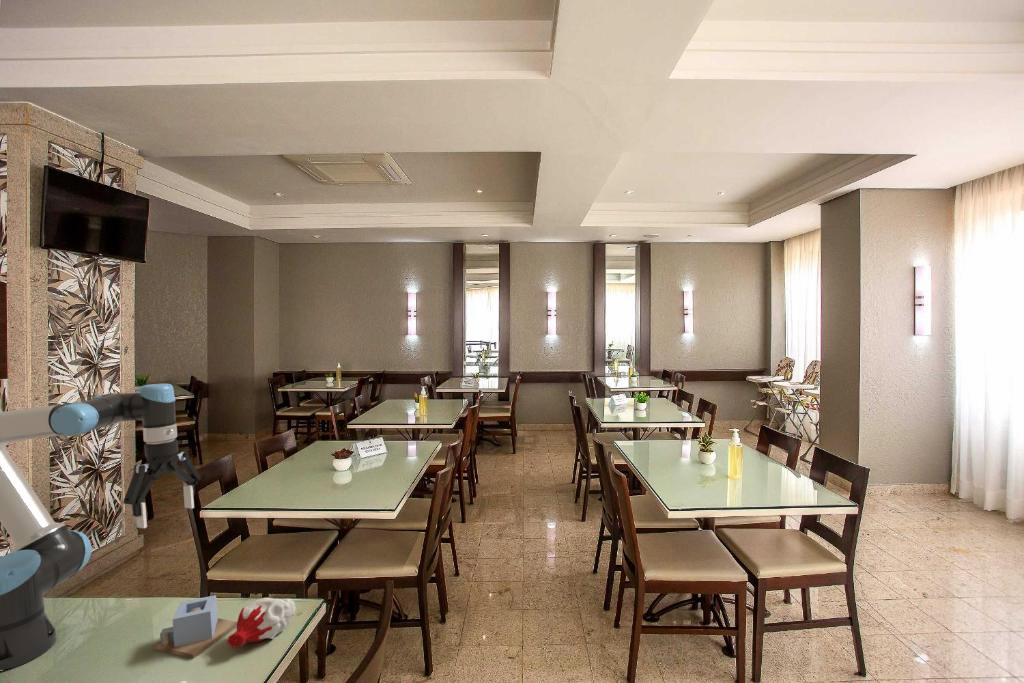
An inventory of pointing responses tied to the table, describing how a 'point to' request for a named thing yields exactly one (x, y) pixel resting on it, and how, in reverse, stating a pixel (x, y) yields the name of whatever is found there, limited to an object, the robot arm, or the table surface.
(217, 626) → the post base
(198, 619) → the square nut with handle
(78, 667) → the table surface
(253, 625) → the candle
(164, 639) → the dowel
